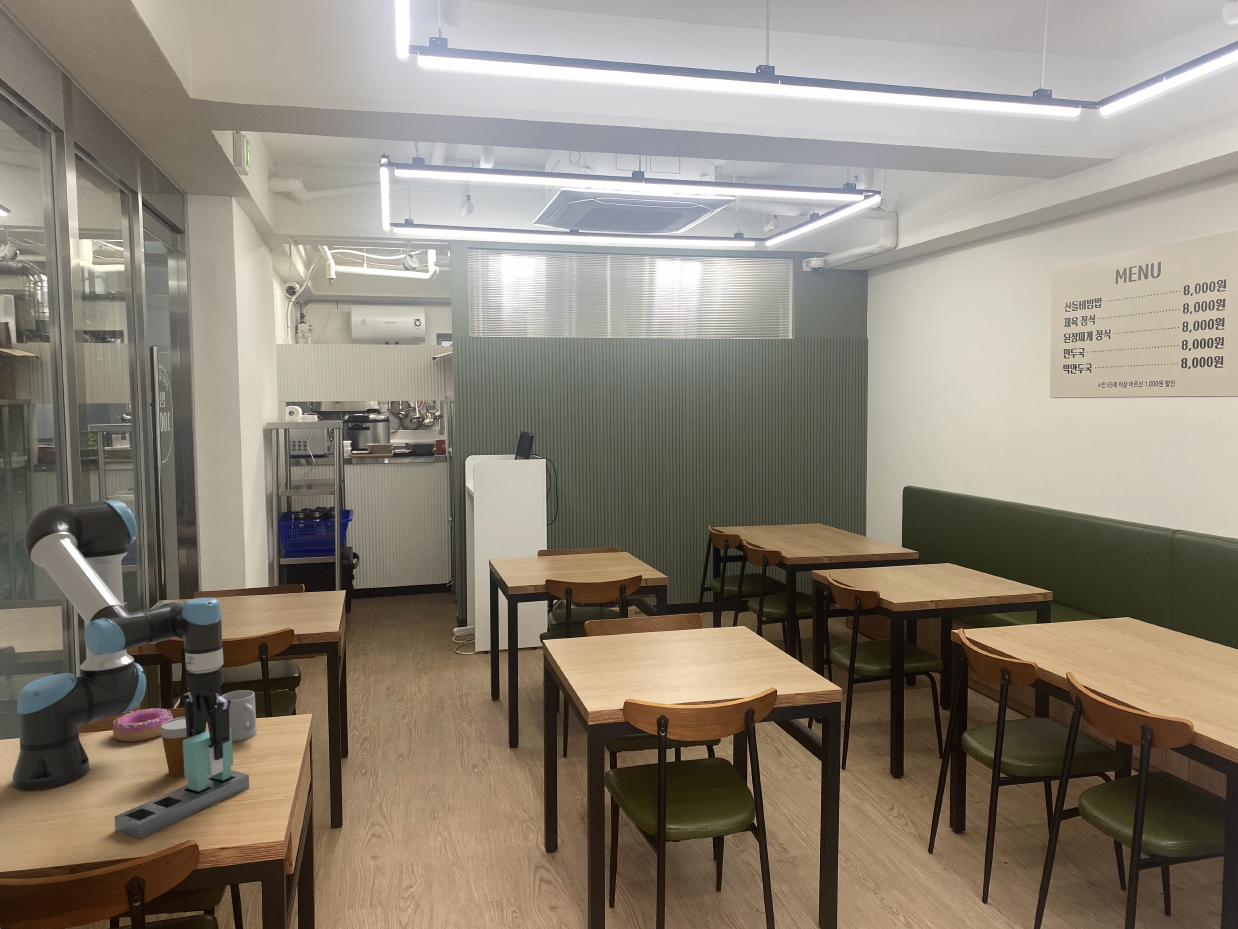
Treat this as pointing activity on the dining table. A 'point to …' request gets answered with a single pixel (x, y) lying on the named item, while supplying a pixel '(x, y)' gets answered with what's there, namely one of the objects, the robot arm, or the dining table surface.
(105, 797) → the dining table surface
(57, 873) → the dining table surface
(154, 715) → the donut
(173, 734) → the disposable coffee cup
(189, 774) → the mint green arch block
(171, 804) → the grey long flat bar
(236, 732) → the mug
